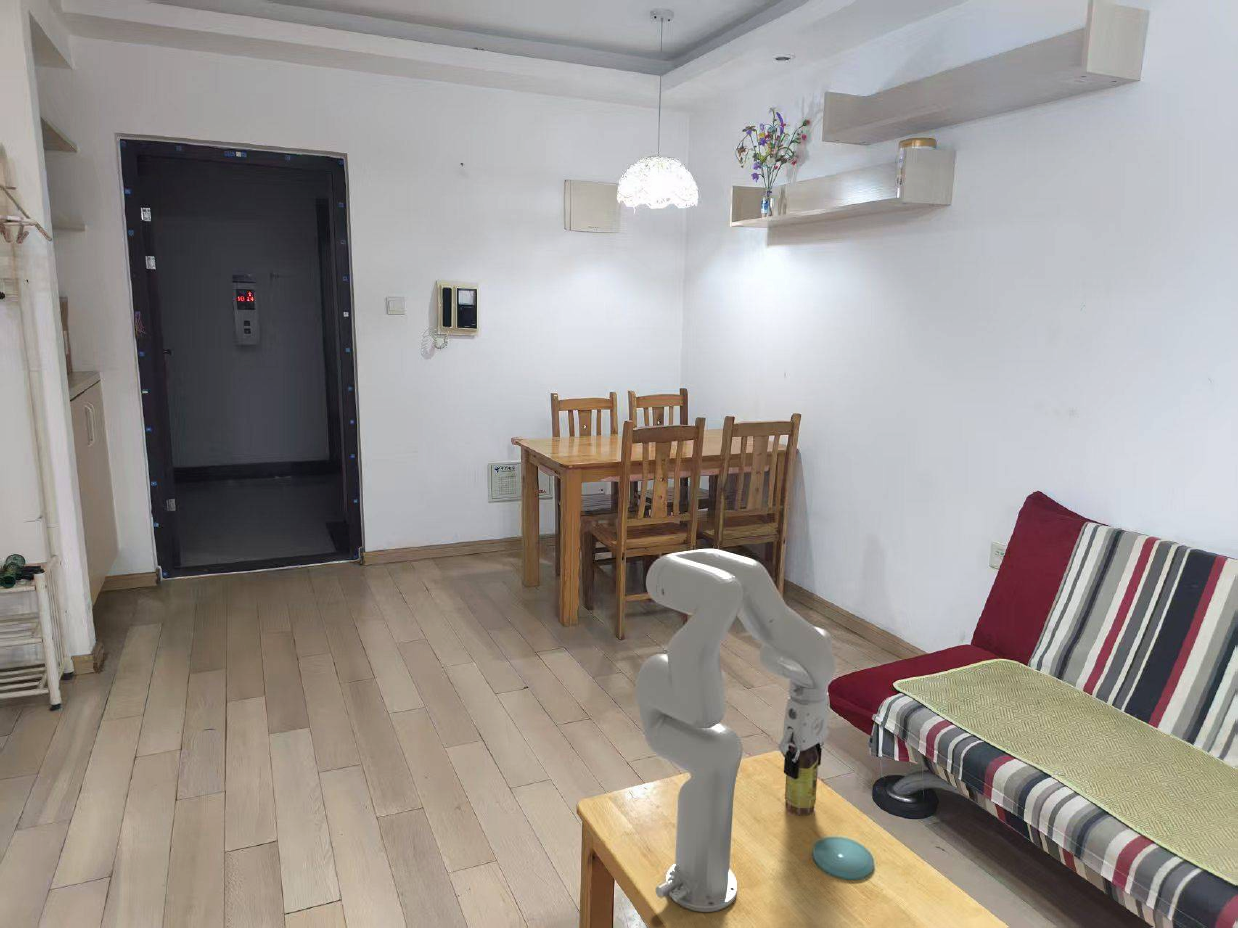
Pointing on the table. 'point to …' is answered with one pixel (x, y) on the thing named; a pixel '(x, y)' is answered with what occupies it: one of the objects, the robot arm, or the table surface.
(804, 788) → the sauce bottle
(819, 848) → the coaster
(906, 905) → the table surface
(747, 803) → the table surface
